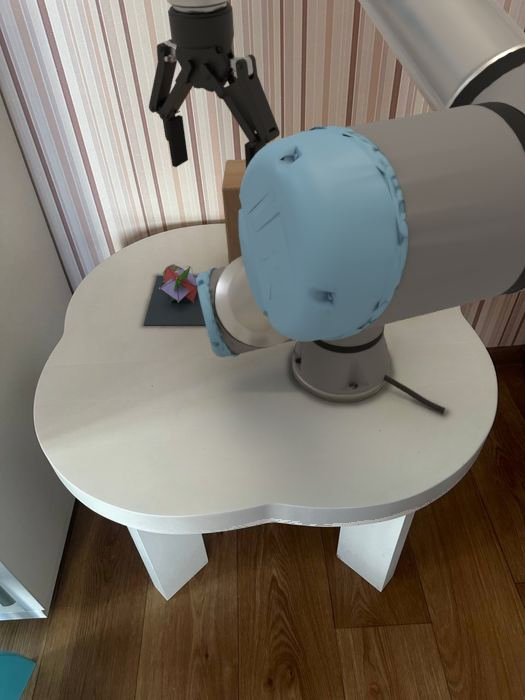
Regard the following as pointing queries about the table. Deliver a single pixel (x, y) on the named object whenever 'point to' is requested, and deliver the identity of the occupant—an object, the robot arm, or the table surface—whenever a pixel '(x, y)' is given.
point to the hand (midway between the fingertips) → (216, 175)
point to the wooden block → (232, 204)
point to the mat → (173, 309)
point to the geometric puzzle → (179, 283)
